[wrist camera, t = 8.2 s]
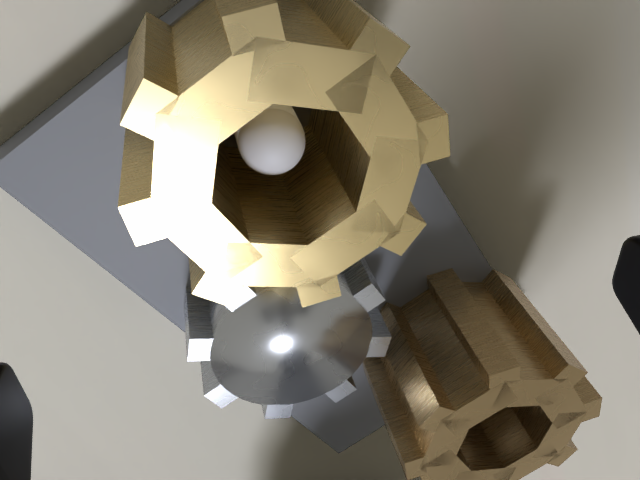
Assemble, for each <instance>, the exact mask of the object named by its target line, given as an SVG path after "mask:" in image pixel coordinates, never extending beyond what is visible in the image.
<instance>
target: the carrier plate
mask: <svg viewBox="0 0 640 480" xmlns="http://www.w3.org/2000/svg"><path fill="white" fill-rule="evenodd" d="M203 1H204V0H181V1H180V2H179V3H177V4H176V5H175V6H174V7H172V8H171V9H170V10H169V11H167V12H166V13H165V14H164V15H163V16H161V17H160V18H159V19H160V20H162V21H163V22H165V23H167V24H169V25H170V26H173V25H174V24H175V23H176V22H178V21H179V20H180V19H181V18H183V17H184V16H185V15H186V14H188V13H189V12H190V11H191V10H193V9H194V8H195V7H196V6H198V5H199V4H200V3H202V2H203ZM131 42H132V40H131V41H130V42H129V43H128V44H127V45H125V46H124V47H123V48H122V49H120V50H119V51H118V52H117V53H115V54H114V55H113V56H112V57H110V58H109V59H108V60H107V61H105V62H104V63H103V64H102V65H100V66H99V67H98V68H97V69H96V70H94V71H93V72H92V73H91V74H89V75H88V76H87V77H86V78H84V79H83V80H82V81H81V82H79V83H78V84H77V85H76V86H74V87H73V88H72V89H71V90H69V91H68V92H67V93H66V94H64V95H63V96H62V97H61V98H60V99H58V100H57V101H56V102H55V103H53V104H52V105H51V106H50V107H48V108H47V109H46V110H45V111H43V112H42V113H41V114H40V115H38V116H37V117H36V118H35V119H33V120H32V121H31V122H30V123H28V124H27V125H26V126H25V127H24V128H22V129H21V130H20V131H19V132H17V133H16V134H15V135H14V136H12V137H11V138H10V139H9V140H7V141H6V142H5V143H4V144H2V145H1V146H0V187H1V188H2V189H3V190H5V191H6V192H7V193H9V194H10V195H11V196H12V197H14V198H15V199H16V200H17V201H19V202H20V203H21V204H23V205H24V206H25V207H26V208H28V209H29V210H30V211H31V212H33V213H34V214H35V215H37V216H38V217H39V218H40V219H42V220H43V221H44V222H45V223H47V224H48V225H49V226H50V227H52V228H53V229H54V230H56V231H57V232H58V233H59V234H61V235H62V236H63V237H64V238H66V239H67V240H68V241H70V242H71V243H72V244H73V245H75V246H76V247H77V248H78V249H80V250H81V251H82V252H84V253H85V254H86V255H87V256H89V257H90V258H91V259H92V260H94V261H95V262H96V263H98V264H99V265H100V266H101V267H103V268H104V269H105V270H106V271H108V272H109V273H110V274H111V275H113V276H114V277H115V278H117V279H118V280H119V281H120V282H122V283H123V284H124V285H125V286H127V287H128V288H129V289H131V290H132V291H133V292H134V293H136V294H137V295H138V296H139V297H141V298H142V299H143V300H145V301H146V302H147V303H148V304H150V305H151V306H152V307H153V308H155V309H156V310H157V311H159V312H160V313H161V314H162V315H164V316H165V317H166V318H167V319H169V320H170V321H171V322H172V323H174V324H175V325H176V326H178V327H179V328H180V329H181V330H183V331H184V332H185V318H184V302H185V291H186V287H191V280H190V268H189V257H188V255H187V254H186V253H184V252H183V251H182V250H181V249H180V248H179V247H178V246H177V245H176V244H175V243H173V242H172V241H171V240H170V239H169V238H168V237H167V238H164V239H160V240H157V241H153V242H150V243H146V244H143V245H139V246H136V245H135V243H134V241H133V238H132V236H131V234H130V232H129V230H128V228H127V226H126V224H125V221H124V219H123V217H122V215H121V213H120V211H119V209H118V200H119V189H120V179H121V169H122V158H123V148H124V137H125V127H124V126H121V125H120V118H121V109H122V101H123V92H124V84H125V75H126V67H127V58H128V50H129V46H130V44H131ZM311 109H312V108H305V107H296V106H287V105H279V104H272V105H271V106H269V107H268V108H267V109H265V110H264V111H263V112H261V113H260V114H259V115H257V116H256V117H255V118H253V119H252V120H250V121H249V122H248V123H246V124H245V125H244V126H242V127H241V128H240V129H238V130H237V131H236V132H234V133H233V134H232V135H230V136H229V137H228V138H226V139H225V140H224V141H222V142H223V143H224V144H225V145H226V146H227V147H234V148H238V149H239V152H240V154H241V157H242V158H243V160H244V161H245V163H246V164H247V165H248V166H249V167H250V168H252V169H253V170H255V171H257V172H259V173H261V174H265V175H279V174H282V173H285V172H287V171H289V170H291V169H292V168H293V167H294V166H295V165H296V164H297V163H298V162H299V161H300V159H301V157H302V155H303V153H304V149H305V133H304V130H303V128H304V127H305V126H307V125H308V124H309V119H310V114H311ZM410 201H411V203H412V204H413V205H414V207H415V208H416V210H417V211H418V212H419V214H420V215H421V217H422V218H423V219H424V221H425V222H426V224H427V225H426V226H425V227H424V228H423V230H422V231H421V232H420V233H419V235H418V236H417V237H416V238H415V240H414V241H413V242H412V243H411V245H410V246H409V247H408V248H407V250H406V251H405V252H404V253H403V255H402V256H400V255H398V254H396V253H394V252H392V251H390V250H387V249H385V248H383V247H381V246H380V247H378V248H377V249H375V250H374V251H372V252H371V253H369V254H368V255H366V256H365V257H364V258H365V260H366V262H367V264H368V266H369V268H370V270H371V272H372V274H373V276H374V278H375V280H376V282H377V284H378V286H379V288H380V290H381V292H382V294H383V296H384V298H385V301H384V302H382V303H381V304H379V305H378V306H377V307H378V309H379V311H380V310H381V308H382V307H383V306H384V305H385V303H386V302H388V303H391V304H393V305H396V306H398V307H401V306H403V305H405V304H406V303H408V302H409V301H411V300H412V299H414V298H415V297H417V296H418V295H420V294H421V293H423V292H424V291H426V290H427V289H428V286H427V275H430V274H434V273H437V272H440V271H444V270H447V269H450V268H452V269H453V270H454V272H455V273H456V274H457V276H458V277H459V279H460V280H461V282H482V281H483V280H484V279H485V278H486V277H487V275H488V274H489V273H490V272H491V271H492V269H491V267H490V265H489V264H488V262H487V261H486V259H485V257H484V256H483V254H482V253H481V251H480V249H479V248H478V246H477V244H476V243H475V241H474V240H473V238H472V236H471V235H470V233H469V232H468V230H467V228H466V227H465V225H464V224H463V222H462V220H461V219H460V217H459V216H458V214H457V212H456V211H455V209H454V208H453V206H452V204H451V203H450V201H449V200H448V198H447V196H446V195H445V193H444V191H443V190H442V188H441V187H440V185H439V183H438V182H437V180H436V179H435V177H434V175H433V174H432V172H431V171H430V169H429V167H428V166H427V164H426V163H425V164H421V167H420V170H419V173H418V176H417V179H416V182H415V186H414V189H413V192H412V195H411V198H410ZM352 378H353V380H354V383H355V386H356V389H357V390H355V391H354V392H352V393H351V394H349V395H347V396H346V397H344V398H343V399H341V400H340V401H338V402H336V403H335V402H334V401H333V400H332V399H331V398H329V397H328V396H327V395H326V394H323V395H321V396H319V397H316V398H314V399H311V400H308V401H304V402H300V403H295V404H293V408H292V412H291V416H292V417H293V418H294V419H296V420H297V421H298V422H300V423H301V424H302V425H303V426H305V427H306V428H307V429H308V430H310V431H311V432H312V433H314V434H315V435H316V436H317V437H319V438H320V439H321V440H322V441H324V442H325V443H326V444H328V445H329V446H330V447H331V448H333V449H334V450H335V451H336V452H338V453H340V452H342V451H344V450H345V449H347V448H348V447H350V446H352V445H353V444H355V443H356V442H358V441H360V440H361V439H363V438H364V437H366V436H368V435H369V434H371V433H373V432H374V431H376V430H377V429H379V428H381V427H382V426H384V425H385V423H384V420H383V418H382V415H381V413H380V410H379V408H378V405H377V403H376V400H375V398H374V395H373V393H372V390H371V388H370V385H369V383H368V380H367V378H366V375H365V372H364V369H363V364H361V365H360V367H359V368H358V369H357V370H356V371H355V372H354V373H353V375H352Z"/></svg>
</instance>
